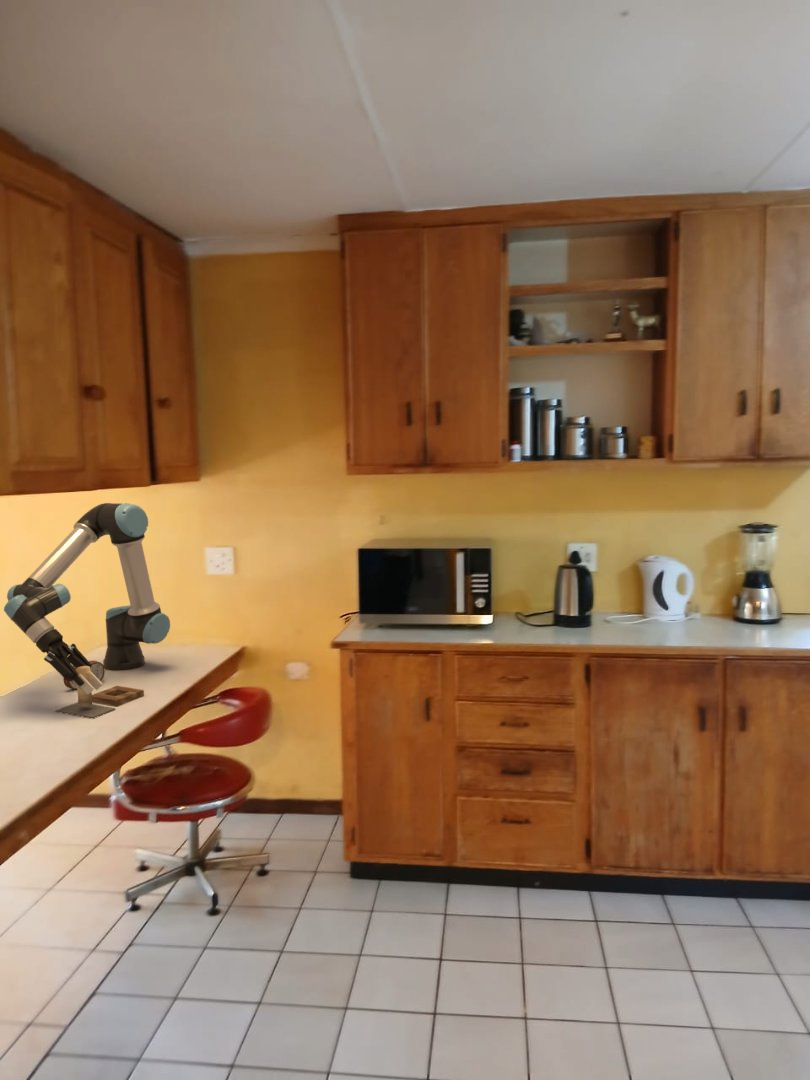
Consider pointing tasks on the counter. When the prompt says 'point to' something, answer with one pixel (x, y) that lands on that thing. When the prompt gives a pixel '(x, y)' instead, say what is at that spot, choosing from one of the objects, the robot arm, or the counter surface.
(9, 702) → the counter surface
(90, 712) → the mat
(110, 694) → the slot block
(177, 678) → the counter surface
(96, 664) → the tin
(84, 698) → the peg
